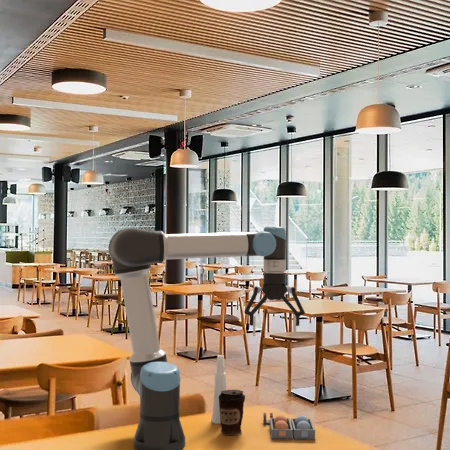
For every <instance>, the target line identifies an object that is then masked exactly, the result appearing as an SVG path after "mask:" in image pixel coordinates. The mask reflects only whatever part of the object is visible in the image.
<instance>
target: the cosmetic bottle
mask: <svg viewBox="0 0 450 450" xmlns="http://www.w3.org/2000/svg"><path fill="white" fill-rule="evenodd" d="M215 364H216V367H215V368H216V372H215V374H214V387H213V389H214V390H213V403H212V404H213V405H212V414H211V420H210V421H211V423H213V424H216V425H221V423H220V409H219V395H220V394H221V391H224V390H228V388H227V373H226V372H225V370H226V368H225V367H226V365H225V364H226V359H225V355H224V354H220V355H219V354H218V355H217V358H216V363H215Z"/></svg>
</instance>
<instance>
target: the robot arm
mask: <svg viewBox="0 0 450 450" xmlns="http://www.w3.org/2000/svg"><path fill="white" fill-rule="evenodd" d="M286 231H287V230H286V228H285V227H284V226H265V227H263V231H248V232H247V231H236V232H205V233H196V232H195V233H169V234H168V233H165V232H163V230H146V229H145V230H144V229H140V228H139V229H138V228H124V229H120V230H118V231H117V232H115V233H114V234H113V236H112V237H111V238H110V240H109V244H108V254H109V256H110V258H111V260H112V266H113V273H114V276H115V277H117V278H119V280H120V283H121V291H122V295H123V300H124V301H123V303H124V307H125V312H126V319H127V325H128V330H129V336H130V342H131V348H132V355H131V356H130V357H129V365H130V382H131V385H132V388H133V389H134V390H135V392H136V393H137V394H138V395H139V422H138V424H137V427H136V430H135V433H134V437H133V448H134V450H182V449H184V448H185V446H186V435H185V432H184V429H183V426H182V422H181V419H180V411H181V410H180V405H181V404H180V403H181V399H180V398H181V397H180V394H181V393H180V392H181V391H180V390H181V373H180V368H179V367H178V366H177V365H176V364H174V363H170V362H168V357H167V352H166V350H164V349H162V348H161V346H160V341H159V340H160V339H159V333H158V327H157V322H156V315H155V310H154V305H153V299H152V293H151V287H150V282H149V276H148V275H149V273H150V271H151V269H152V264H163V263H164V262H166V261H167V260H185V259H207V258H208V259H210V258H212V259H213V258H214V259H215V258H231V257H232V258H233V257H234V258H235V257H263V272H264V273H263V285H262V287H261V286H257V285H256V286H254V289H253V293H252V295H251V297H250V299H249V301H248V303H247V305H246V307H245V309H244V311H243V312H244V314H245V315H248V316H249V326H252V336H253V337H255V336H256V315H255V314H256V313H257V312H258V310H259V309H260V307H262V306H263V305H264V304H265V302H266V301H267V300H269V301H274V300H275V301H281V300H282V301H283V302H284V303H285V304H286V305H287V306H288V308H289V309H290V310H291V312H292V313H293V314H294V315H293V317H292V329H293V330H292V336H293V337H297V327H299V326H300V317H301V316H304V315H305V314H306V312H305V309H304V308H303V306H302V303H301V301H300V300H299V297H298V296H297V293H296V288H295V287H294V286H291V287H290V286H289V287H287V285H286V284H287V283H286V279H287V276H286V275H287V274H286V273H285V272H286V269H287V266H286V265H287V261H286V260H287V257H286V256H287V255H286V254H287V253H286V252H287V234H286V233H287V232H286ZM261 292H262V293H263V294H264V295H263V297H261V299H259V301H258V302H257V304H256V305H255V306H254V307H253V309H251V308H252V305H253V304H254V302H255V300H256V298H257V297H258V294H260V293H261ZM286 293H289V294H291V296H292V298H293V300H294V301H295V304H296V306H297V308H298V310H299V311H298V310H297V309H296V308H295V307H294V306H293V304H292V303H291V302H290V301H289V300H288V299H287V297H286V296H285V295H286Z"/></svg>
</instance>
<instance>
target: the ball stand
mask: <svg viewBox="0 0 450 450" xmlns="http://www.w3.org/2000/svg"><path fill="white" fill-rule="evenodd" d="M270 418H274V415H273V412H269V419H267V413H266V412H263V419H262V420H263V421H262V422H263V426H264V425H265V426H267V425H269V426H270Z"/></svg>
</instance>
